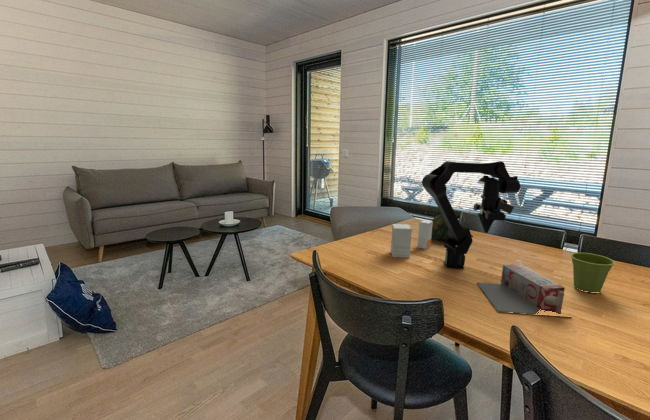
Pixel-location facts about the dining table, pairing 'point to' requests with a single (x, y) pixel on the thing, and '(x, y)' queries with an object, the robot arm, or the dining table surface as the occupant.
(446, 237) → the squash
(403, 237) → the supplement box
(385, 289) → the dining table surface
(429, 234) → the skincare box
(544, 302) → the juice carton
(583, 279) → the plant pot
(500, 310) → the mat
